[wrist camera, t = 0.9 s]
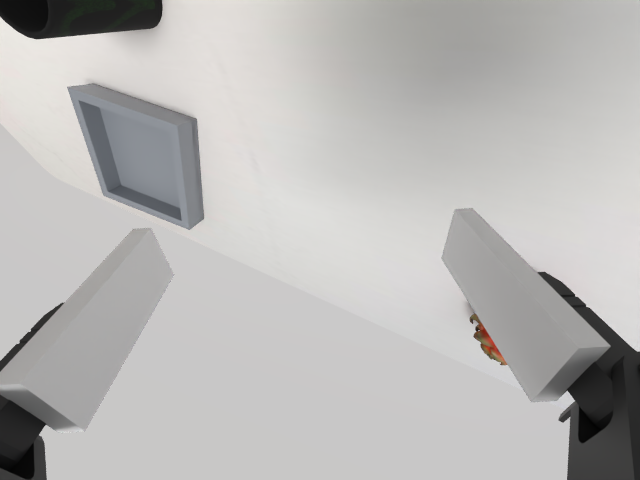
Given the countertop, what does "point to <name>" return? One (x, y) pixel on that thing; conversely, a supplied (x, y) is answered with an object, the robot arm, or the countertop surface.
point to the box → (142, 153)
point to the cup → (79, 16)
